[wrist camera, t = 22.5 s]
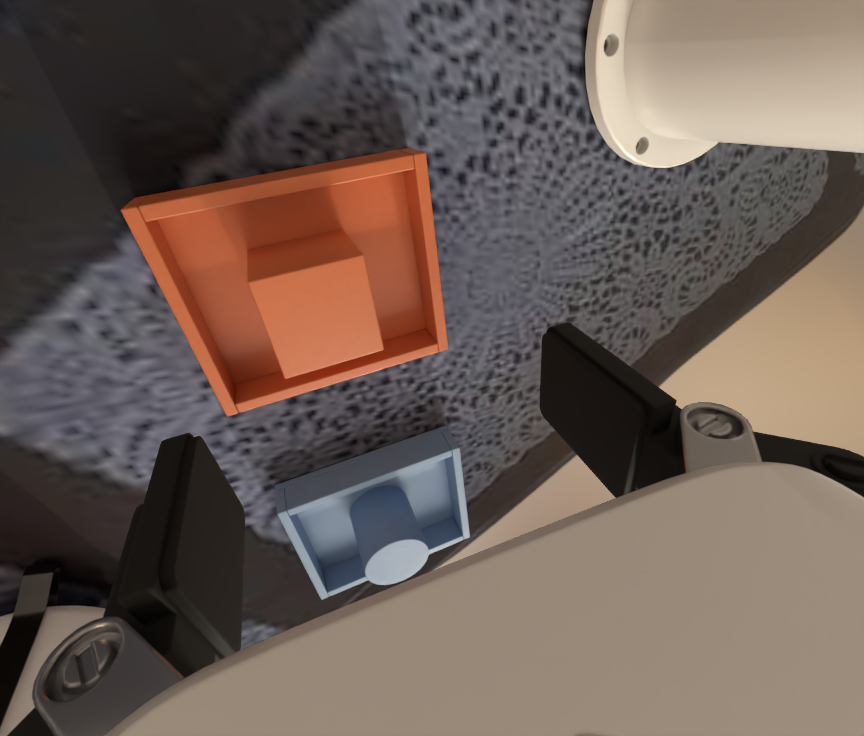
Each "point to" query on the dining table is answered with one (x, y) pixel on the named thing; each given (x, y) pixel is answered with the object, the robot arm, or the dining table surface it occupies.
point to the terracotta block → (314, 301)
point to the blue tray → (346, 481)
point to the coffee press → (33, 638)
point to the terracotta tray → (282, 221)
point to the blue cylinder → (388, 535)
